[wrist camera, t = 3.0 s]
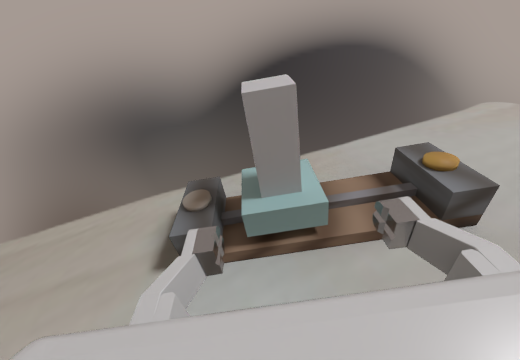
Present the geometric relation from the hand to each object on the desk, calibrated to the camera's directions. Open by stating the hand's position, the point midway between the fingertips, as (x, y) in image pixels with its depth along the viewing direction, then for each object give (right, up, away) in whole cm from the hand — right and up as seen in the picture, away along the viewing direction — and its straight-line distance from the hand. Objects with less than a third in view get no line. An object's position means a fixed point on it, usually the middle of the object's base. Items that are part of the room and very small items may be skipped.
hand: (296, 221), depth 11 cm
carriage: (+1, -1, +13) cm, 13 cm away
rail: (+5, -2, +15) cm, 16 cm away
